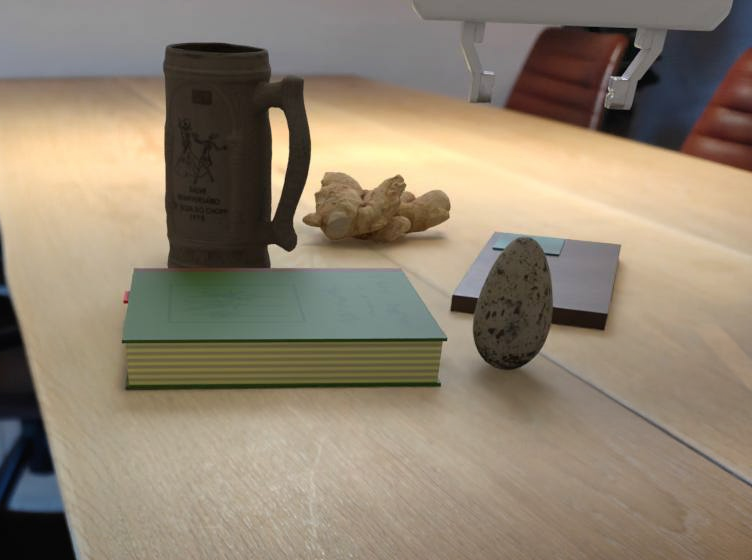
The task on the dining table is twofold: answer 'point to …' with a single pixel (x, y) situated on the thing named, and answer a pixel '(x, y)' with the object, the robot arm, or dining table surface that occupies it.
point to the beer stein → (228, 156)
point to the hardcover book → (278, 329)
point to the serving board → (555, 278)
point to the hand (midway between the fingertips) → (547, 105)
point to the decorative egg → (514, 306)
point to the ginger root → (374, 209)
